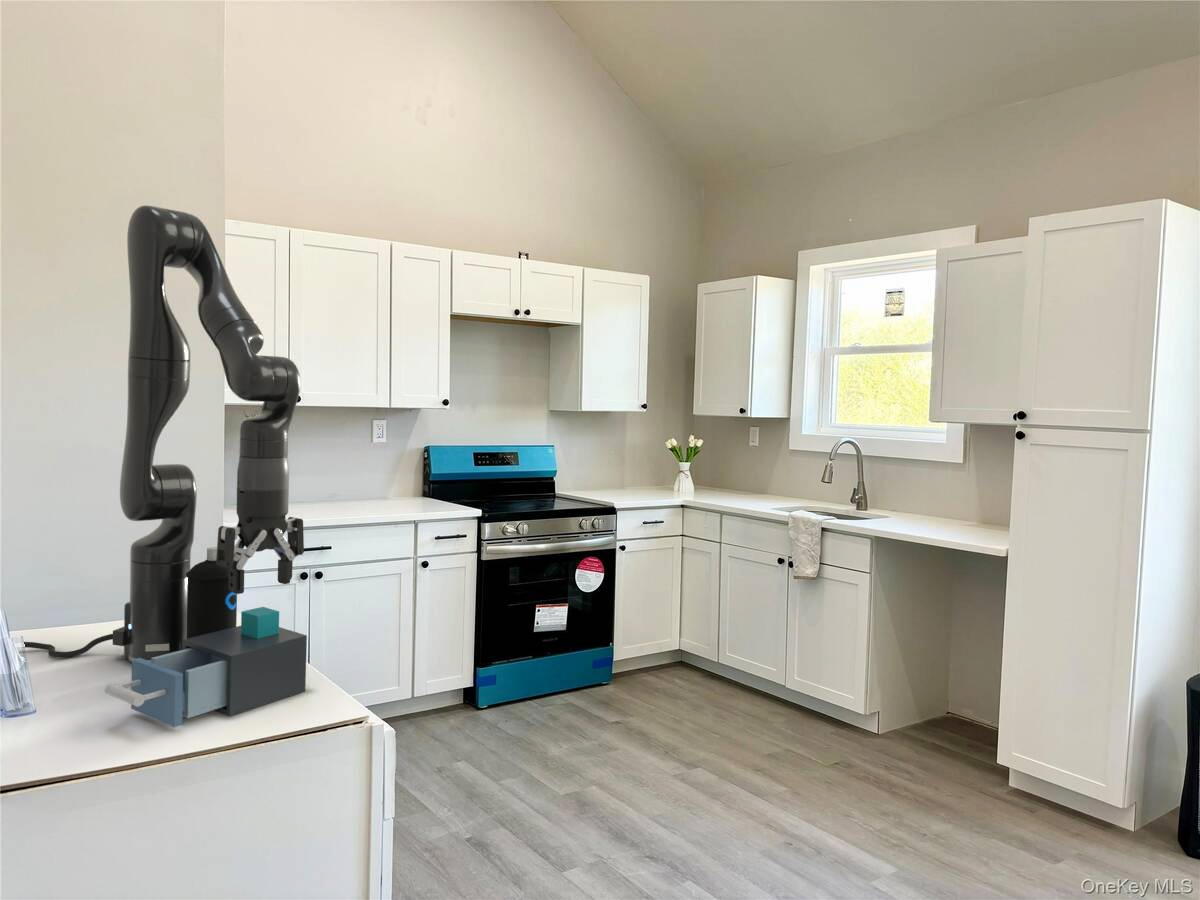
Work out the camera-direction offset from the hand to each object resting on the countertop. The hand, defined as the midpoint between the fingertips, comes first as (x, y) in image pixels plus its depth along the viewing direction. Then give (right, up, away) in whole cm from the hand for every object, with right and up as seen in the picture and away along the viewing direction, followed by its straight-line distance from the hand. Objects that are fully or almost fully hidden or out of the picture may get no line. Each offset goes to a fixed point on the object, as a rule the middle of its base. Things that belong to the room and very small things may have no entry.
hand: (261, 587), depth 139 cm
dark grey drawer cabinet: (-2, -17, -1) cm, 17 cm away
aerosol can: (-13, -15, +12) cm, 23 cm away
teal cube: (0, -7, +1) cm, 7 cm away
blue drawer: (-8, -16, -10) cm, 21 cm away
